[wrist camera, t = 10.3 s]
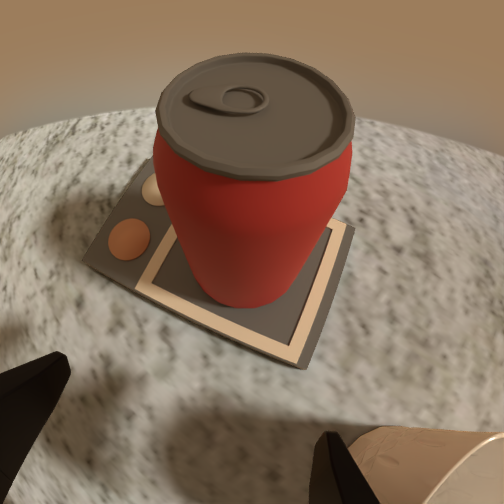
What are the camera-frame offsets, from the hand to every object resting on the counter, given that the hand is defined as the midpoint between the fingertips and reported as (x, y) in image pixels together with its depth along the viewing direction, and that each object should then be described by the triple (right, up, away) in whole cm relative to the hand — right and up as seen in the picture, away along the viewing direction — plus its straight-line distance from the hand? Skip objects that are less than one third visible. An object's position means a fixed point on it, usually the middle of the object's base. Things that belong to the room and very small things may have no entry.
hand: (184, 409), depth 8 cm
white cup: (+11, -10, +6) cm, 16 cm away
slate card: (0, +5, +11) cm, 12 cm away
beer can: (+2, +4, +10) cm, 11 cm away
